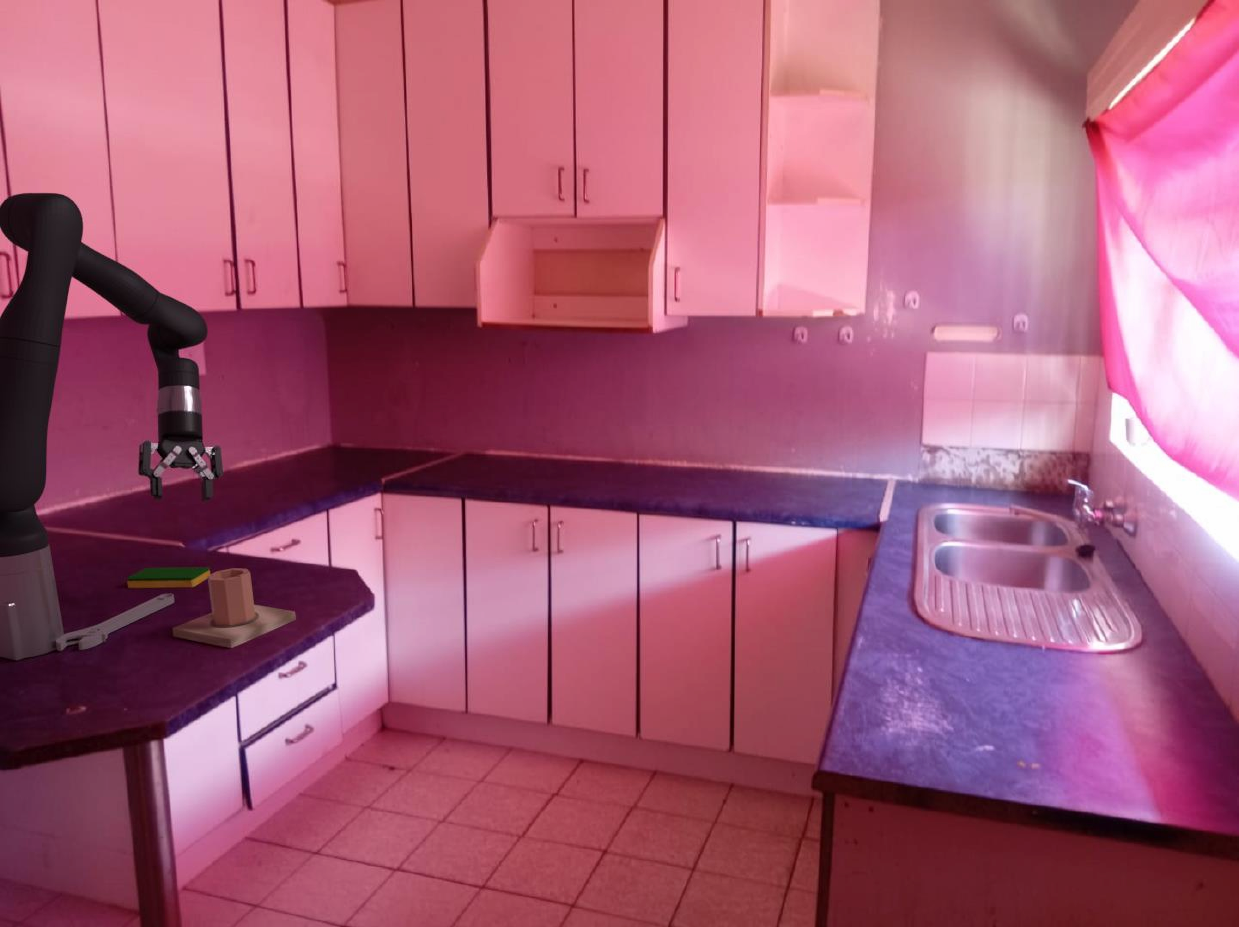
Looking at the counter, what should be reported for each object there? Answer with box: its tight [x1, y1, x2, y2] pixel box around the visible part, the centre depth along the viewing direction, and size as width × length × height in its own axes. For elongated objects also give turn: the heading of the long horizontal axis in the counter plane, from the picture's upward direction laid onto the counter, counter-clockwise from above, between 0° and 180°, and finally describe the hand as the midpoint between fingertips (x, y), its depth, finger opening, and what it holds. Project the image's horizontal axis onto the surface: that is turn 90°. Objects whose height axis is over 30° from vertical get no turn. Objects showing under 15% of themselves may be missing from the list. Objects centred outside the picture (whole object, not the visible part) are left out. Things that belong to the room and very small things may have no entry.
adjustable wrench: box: [56, 593, 175, 652], centre depth 169 cm, size 25×6×2 cm, turn 161°
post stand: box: [172, 604, 297, 649], centre depth 165 cm, size 14×14×9 cm
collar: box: [207, 567, 255, 626], centre depth 165 cm, size 6×6×8 cm
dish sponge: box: [126, 566, 211, 589], centre depth 194 cm, size 7×14×2 cm, turn 85°
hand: (182, 499), depth 175 cm, fingers open, 8 cm apart
